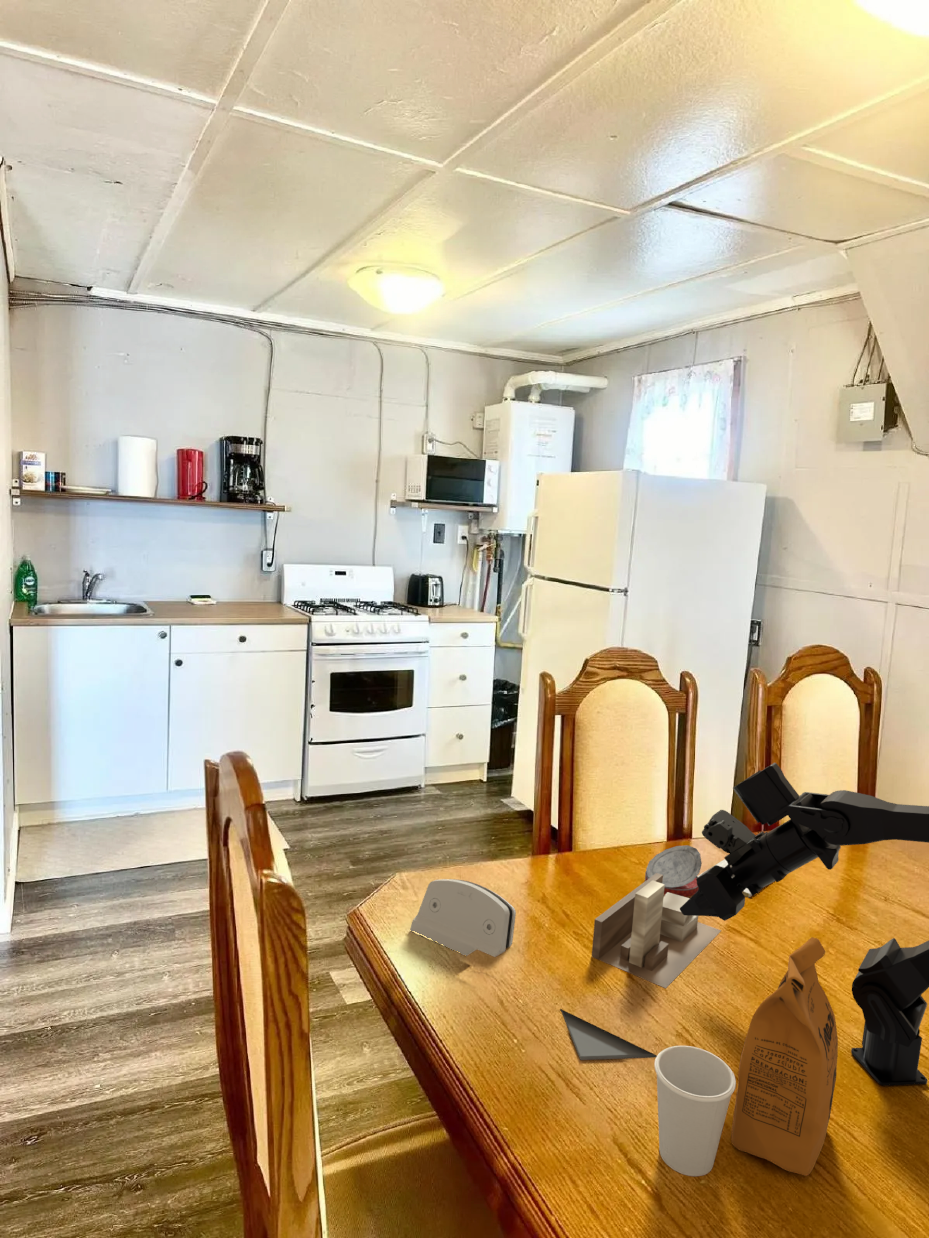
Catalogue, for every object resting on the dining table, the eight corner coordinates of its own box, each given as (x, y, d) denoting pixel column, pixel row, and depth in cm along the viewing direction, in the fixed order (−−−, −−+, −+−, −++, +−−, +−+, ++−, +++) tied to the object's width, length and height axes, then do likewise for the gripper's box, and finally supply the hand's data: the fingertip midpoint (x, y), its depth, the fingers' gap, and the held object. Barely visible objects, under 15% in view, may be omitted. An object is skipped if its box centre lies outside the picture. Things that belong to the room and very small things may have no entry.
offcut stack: (697, 926, 134) (700, 901, 133) (681, 942, 128) (684, 916, 128) (666, 915, 137) (668, 890, 136) (649, 929, 132) (652, 904, 131)
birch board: (658, 951, 125) (664, 884, 124) (641, 967, 121) (647, 897, 119) (646, 946, 126) (652, 880, 125) (629, 962, 122) (635, 893, 120)
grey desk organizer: (720, 938, 133) (725, 895, 132) (664, 997, 116) (669, 948, 115) (652, 913, 140) (656, 872, 139) (590, 965, 123) (594, 919, 122)
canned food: (695, 926, 146) (708, 892, 141) (639, 913, 148) (650, 879, 142) (694, 875, 156) (707, 841, 150) (642, 863, 157) (652, 829, 151)
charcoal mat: (671, 1056, 103) (672, 1053, 103) (580, 1059, 102) (580, 1056, 101) (639, 999, 115) (640, 996, 115) (557, 1001, 113) (557, 998, 113)
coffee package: (842, 1127, 93) (866, 947, 90) (811, 1195, 83) (836, 996, 80) (755, 1085, 99) (774, 916, 96) (717, 1144, 89) (737, 958, 86)
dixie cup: (694, 1118, 93) (702, 1038, 91) (743, 1175, 85) (753, 1088, 84) (631, 1135, 90) (639, 1052, 88) (676, 1195, 82) (686, 1106, 81)
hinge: (407, 930, 130) (423, 868, 132) (424, 929, 134) (439, 868, 135) (494, 968, 121) (510, 901, 122) (509, 965, 125) (525, 900, 126)
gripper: (764, 784, 120) (686, 833, 128) (718, 817, 105) (633, 871, 113) (814, 851, 116) (730, 897, 124) (773, 895, 101) (681, 944, 109)
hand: (694, 900), depth 118 cm, fingers open, 9 cm apart
